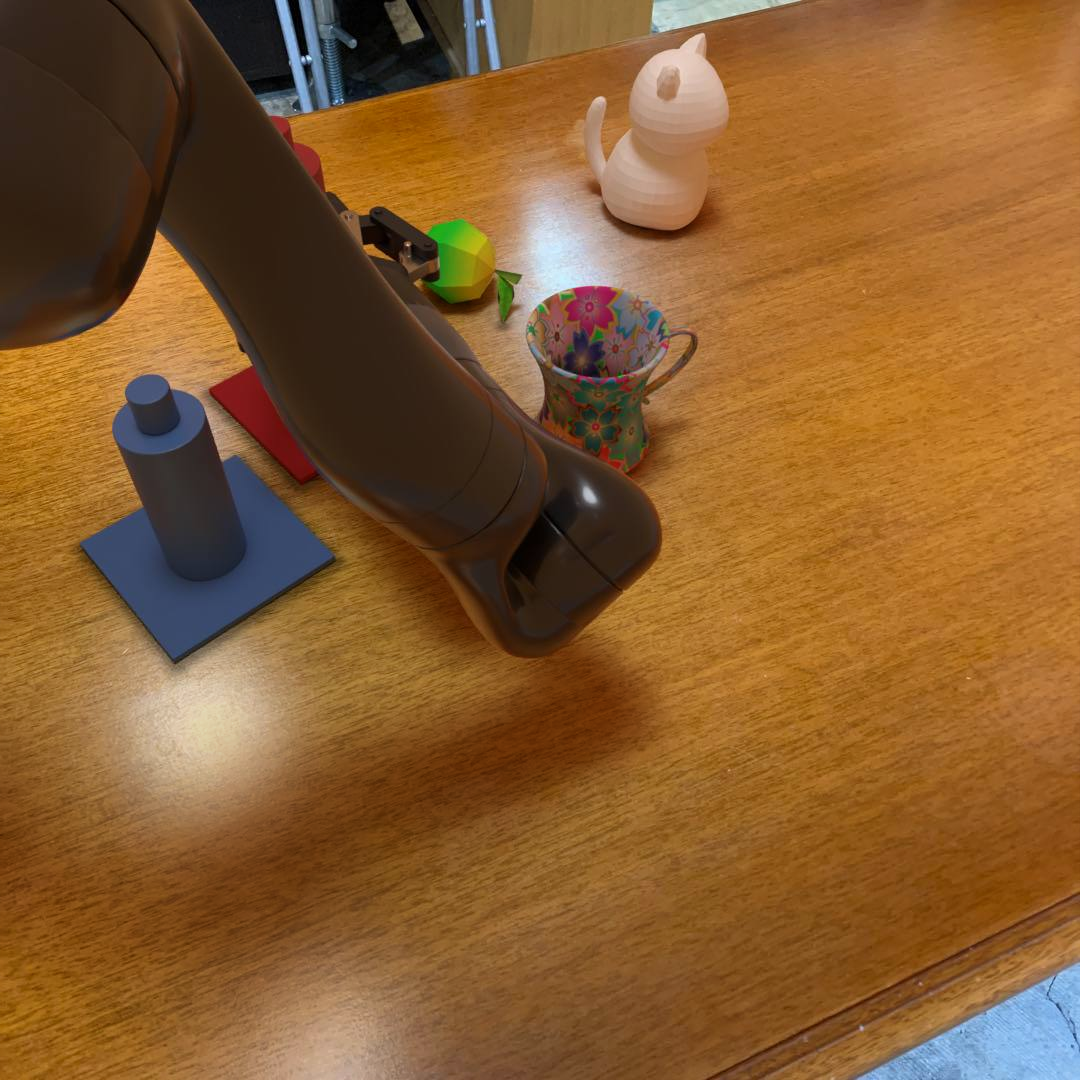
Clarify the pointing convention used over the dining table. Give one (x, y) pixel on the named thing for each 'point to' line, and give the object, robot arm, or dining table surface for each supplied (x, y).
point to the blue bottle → (179, 478)
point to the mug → (601, 368)
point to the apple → (468, 265)
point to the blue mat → (217, 604)
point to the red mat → (262, 421)
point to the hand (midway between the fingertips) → (274, 214)
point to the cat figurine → (662, 140)
